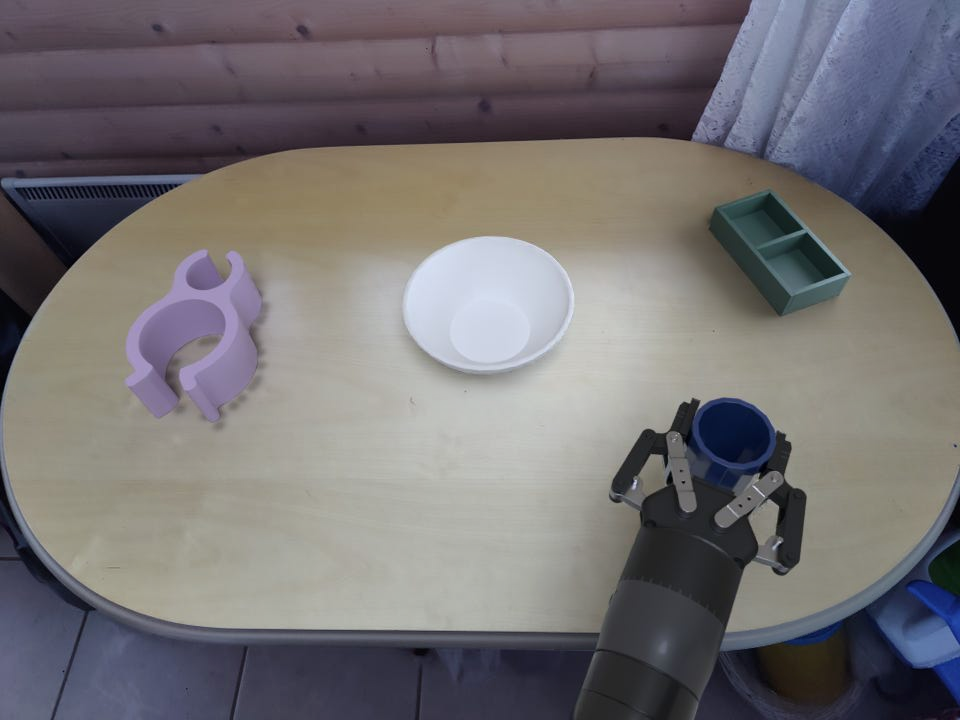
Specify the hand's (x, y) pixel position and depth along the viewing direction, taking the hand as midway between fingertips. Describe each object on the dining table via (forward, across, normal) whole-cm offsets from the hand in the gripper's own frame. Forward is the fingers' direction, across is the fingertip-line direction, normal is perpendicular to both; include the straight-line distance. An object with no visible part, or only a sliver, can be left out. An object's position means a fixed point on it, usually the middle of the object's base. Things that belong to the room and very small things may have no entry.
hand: (735, 420), depth 54 cm
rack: (+36, +1, +18) cm, 40 cm away
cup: (-2, 0, +8) cm, 8 cm away
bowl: (+11, +28, +18) cm, 35 cm away
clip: (-6, +58, +18) cm, 61 cm away
